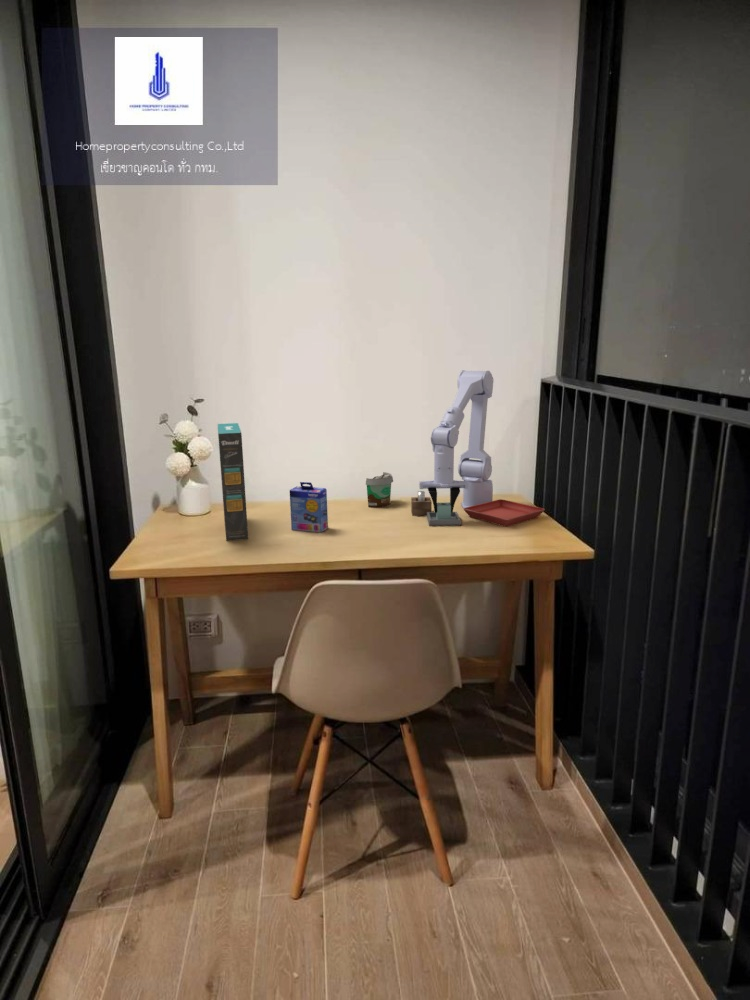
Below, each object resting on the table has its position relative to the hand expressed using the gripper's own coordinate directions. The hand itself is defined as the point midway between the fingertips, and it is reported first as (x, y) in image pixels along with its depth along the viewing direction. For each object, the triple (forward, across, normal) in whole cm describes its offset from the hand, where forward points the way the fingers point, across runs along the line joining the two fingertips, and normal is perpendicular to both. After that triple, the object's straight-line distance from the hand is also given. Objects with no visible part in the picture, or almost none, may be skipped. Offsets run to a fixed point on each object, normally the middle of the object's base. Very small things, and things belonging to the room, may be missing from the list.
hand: (443, 511), depth 193 cm
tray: (+3, 0, 0) cm, 3 cm away
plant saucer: (+4, +19, +4) cm, 20 cm away
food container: (+3, -18, +21) cm, 28 cm away
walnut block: (+3, -6, +10) cm, 12 cm away
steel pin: (+3, -6, +10) cm, 12 cm away
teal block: (+3, 0, 0) cm, 3 cm away
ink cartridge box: (+3, -40, -6) cm, 41 cm away
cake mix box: (+3, -62, -5) cm, 62 cm away
